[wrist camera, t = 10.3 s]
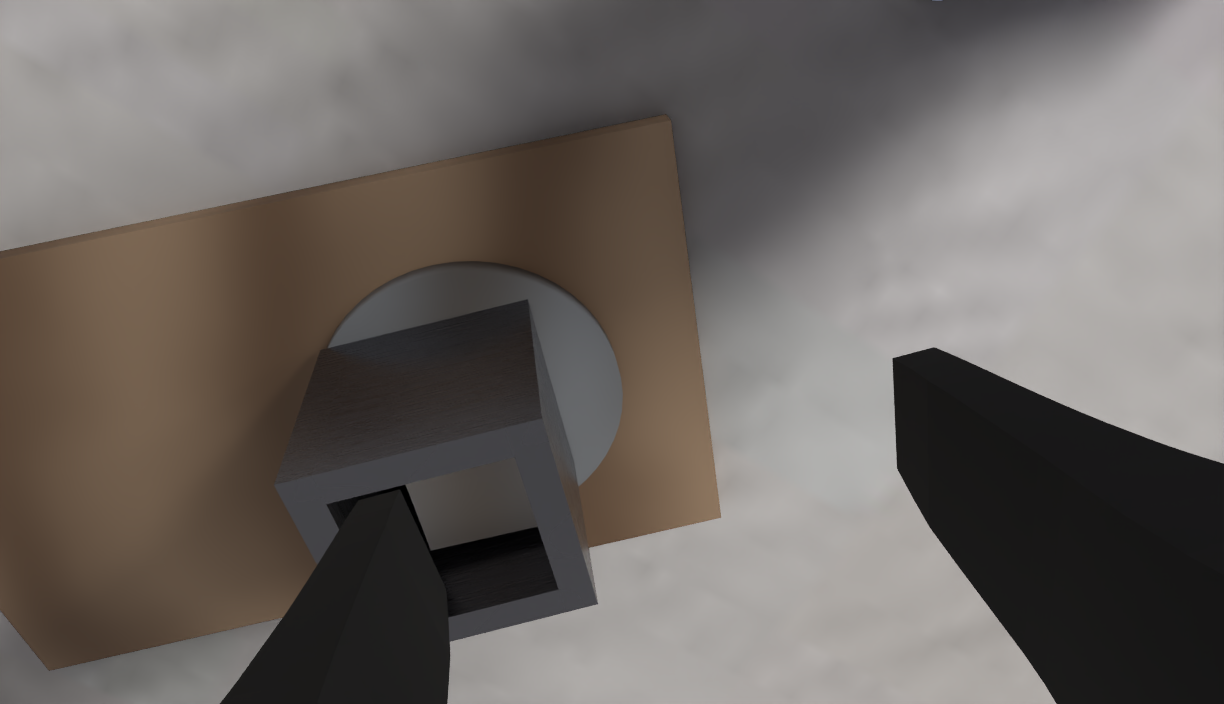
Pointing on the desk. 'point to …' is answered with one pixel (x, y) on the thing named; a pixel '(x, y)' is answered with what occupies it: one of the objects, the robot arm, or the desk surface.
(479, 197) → the wooden board
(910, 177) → the desk surface
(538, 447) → the socket sleeve
